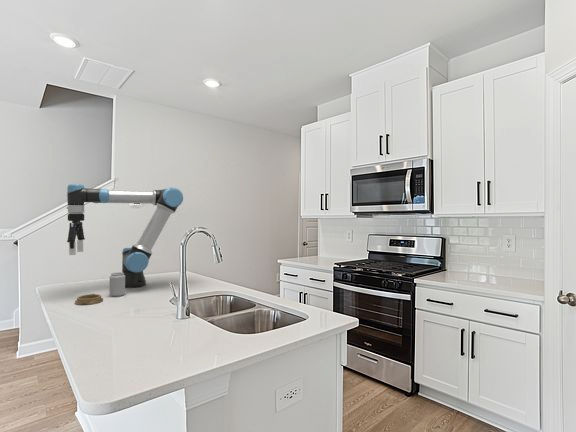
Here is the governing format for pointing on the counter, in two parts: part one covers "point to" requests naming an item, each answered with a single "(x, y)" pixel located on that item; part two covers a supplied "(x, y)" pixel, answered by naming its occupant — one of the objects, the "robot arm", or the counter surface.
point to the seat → (88, 299)
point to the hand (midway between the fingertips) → (76, 253)
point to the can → (117, 284)
